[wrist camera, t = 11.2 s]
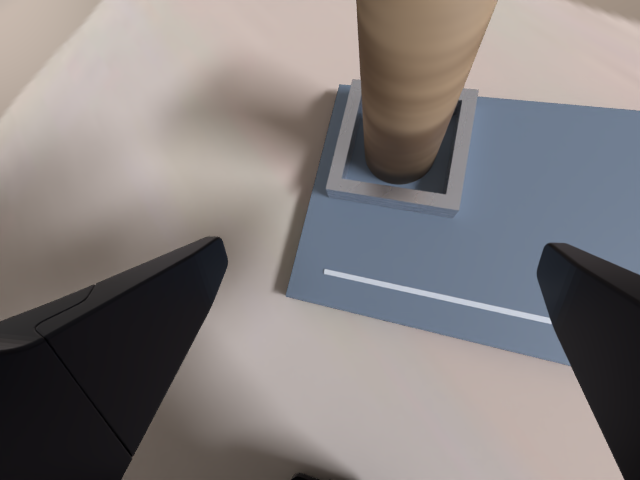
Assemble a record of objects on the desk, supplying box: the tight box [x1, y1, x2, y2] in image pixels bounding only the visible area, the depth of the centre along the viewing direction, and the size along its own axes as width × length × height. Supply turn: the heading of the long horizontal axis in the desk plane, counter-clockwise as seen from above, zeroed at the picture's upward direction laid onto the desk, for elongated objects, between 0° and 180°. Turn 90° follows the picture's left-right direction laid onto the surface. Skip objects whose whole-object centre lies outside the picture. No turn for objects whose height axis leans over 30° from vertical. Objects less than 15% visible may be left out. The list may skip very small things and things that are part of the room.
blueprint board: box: [286, 84, 640, 366], centre depth 19 cm, size 15×22×1 cm
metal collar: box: [326, 79, 478, 218], centre depth 20 cm, size 8×8×2 cm
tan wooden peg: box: [356, 0, 498, 185], centre depth 15 cm, size 4×4×12 cm
